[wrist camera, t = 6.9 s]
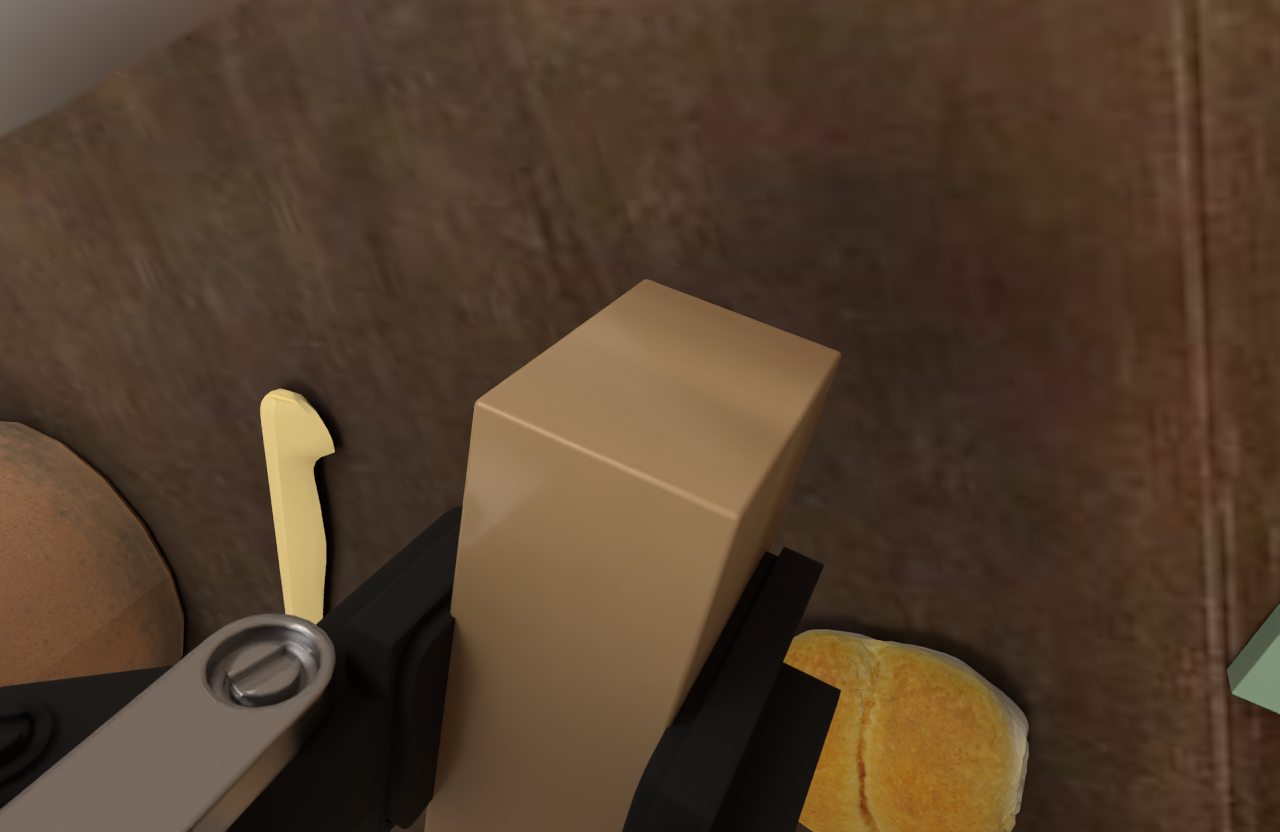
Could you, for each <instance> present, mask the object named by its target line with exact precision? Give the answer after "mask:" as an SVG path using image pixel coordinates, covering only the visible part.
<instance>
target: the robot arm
mask: <svg viewBox="0 0 1280 832" xmlns="http://www.w3.org/2000/svg"><path fill="white" fill-rule="evenodd" d="M462 509H463V507H461V506H459V507H454V508H452V509H450V510H449V511H447V512H446V513H444V514H443V515H442V516H441V517H440V518H439V519H437V520H436V521H435V522H434V523H433V524H432V525H431V526H429V527H428V528H427V529H426V530H425V531H424V532H422V533H421V534H420V535H419V536H418V537H417V538H415V539H414V540H413V541H412V542H411V543H410V544H408V545H407V546H406V547H405V548H404V549H403V550H402V551H400V552H399V553H398V554H397V555H396V556H395V557H393V558H392V559H391V560H390V561H389V562H388V563H386V564H385V565H384V566H383V567H382V568H381V569H379V570H378V571H377V572H376V573H375V574H374V575H373V576H371V577H370V578H369V579H368V580H367V581H366V582H364V583H363V584H362V585H361V586H360V587H359V588H357V589H356V590H355V591H354V592H353V593H352V594H350V595H349V596H348V597H347V598H346V599H345V600H344V601H342V602H341V603H340V604H339V605H338V606H337V607H335V608H334V609H333V610H332V611H331V612H330V613H328V614H327V615H326V616H325V617H324V618H323V619H321V620H320V621H319V622H318V623H317V624H316V625H315V624H314V623H313V622H311V621H309V620H306V619H303V618H300V617H297V616H294V615H287V614H274V613H270V614H263V615H255V616H249V617H246V618H244V619H241V620H238V621H235V622H232V623H230V624H228V625H226V626H225V627H223V628H221V629H220V630H218V631H217V632H215V633H214V634H212V635H211V636H209V637H208V638H207V639H206V640H204V641H203V642H202V643H201V644H200V645H198V646H197V647H196V648H195V649H194V650H192V651H191V652H190V653H189V654H188V655H186V656H185V657H184V658H183V659H182V660H180V661H179V662H178V663H177V664H175V665H171V666H163V667H155V668H147V669H139V670H131V671H123V672H115V673H107V674H99V675H91V676H83V677H75V678H67V679H59V680H51V681H43V682H35V683H27V684H19V685H11V686H3V687H0V832H390V831H391V829H392V828H393V827H394V826H395V824H396V825H398V826H400V827H401V828H403V829H407V828H409V827H410V826H411V825H412V824H413V823H414V822H415V821H416V819H417V818H418V817H419V816H420V814H421V813H422V812H423V811H424V809H425V808H426V807H427V805H428V804H429V803H430V802H431V800H432V799H433V793H434V785H435V777H436V769H437V761H438V753H439V745H440V737H441V729H442V721H443V713H444V705H445V697H446V689H447V681H448V673H449V665H450V657H451V649H452V641H453V633H454V625H455V617H453V616H452V615H451V614H450V611H451V602H452V594H453V585H454V577H455V568H456V560H457V551H458V543H459V534H460V526H461V517H462ZM823 566H824V564H822V563H820V562H817V561H815V560H813V559H811V558H808V557H806V556H804V555H802V554H800V553H797V552H795V551H793V550H791V549H788V548H786V547H784V548H783V549H782V551H781V553H780V555H779V557H778V556H776V555H774V554H772V553H769V552H767V551H766V552H765V554H764V556H763V557H762V559H761V561H760V563H759V565H758V567H757V568H756V570H755V572H754V574H753V576H752V578H751V580H750V581H749V583H748V585H747V587H746V589H745V591H744V593H743V594H742V596H741V598H740V600H739V602H738V604H737V605H736V607H735V609H734V611H733V613H732V615H731V617H730V618H729V620H728V622H727V624H726V626H725V628H724V630H723V631H722V633H721V635H720V637H719V639H718V641H717V642H716V644H715V646H714V648H713V650H712V652H711V654H710V655H709V657H708V659H707V661H706V663H705V665H704V667H703V668H702V670H701V672H700V674H699V676H698V678H697V679H696V681H695V683H694V685H693V687H692V689H691V691H690V692H689V694H688V696H687V698H686V700H685V702H684V704H683V705H682V707H681V709H680V711H679V713H678V715H677V716H676V718H675V720H674V722H673V724H672V726H670V727H669V728H668V727H667V728H666V730H665V732H664V734H663V735H662V737H661V739H660V741H659V743H658V745H657V746H656V748H655V750H654V752H653V754H652V756H651V758H650V760H649V762H648V764H647V766H646V768H645V770H644V772H643V774H642V777H641V779H640V781H639V783H638V786H637V788H636V791H635V793H634V796H633V799H632V802H631V805H630V808H629V811H628V814H627V817H626V820H625V823H624V827H623V830H622V832H795V830H796V827H797V824H798V821H799V818H800V815H801V812H802V809H803V806H804V803H805V800H806V797H807V794H808V791H809V788H810V785H811V782H812V779H813V776H814V773H815V770H816V767H817V764H818V761H819V758H820V755H821V752H822V749H823V746H824V743H825V740H826V737H827V734H828V731H829V728H830V725H831V722H832V719H833V716H834V713H835V710H836V707H837V704H838V701H839V697H840V693H841V690H840V689H838V688H836V687H834V686H832V685H830V684H828V683H825V682H823V681H821V680H819V679H817V678H815V677H813V676H811V675H809V674H807V673H805V672H803V671H801V670H799V669H796V668H794V667H792V666H790V665H788V664H786V663H784V662H783V661H784V659H785V657H786V654H787V652H788V649H789V647H790V645H791V642H792V640H793V638H794V635H795V633H796V631H797V628H798V626H799V623H800V621H801V619H802V616H803V614H804V612H805V609H806V607H807V604H808V602H809V600H810V597H811V595H812V593H813V590H814V588H815V586H816V583H817V581H818V578H819V576H820V574H821V571H822V569H823Z"/></svg>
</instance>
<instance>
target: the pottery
mask: <svg viewBox="0 0 1280 832" xmlns="http://www.w3.org/2000/svg"><path fill="white" fill-rule="evenodd" d="M183 636H184V612H183V609H182V605H181V602H180V599H179V595H178V592H177V589H176V585H175V582H174V579H173V575H172V572H171V570H170V568H169V566H168V565H167V563H166V561H165V559H164V558H163V556H162V554H161V552H160V550H159V549H158V547H157V545H156V543H155V541H154V540H153V538H152V536H151V534H150V533H149V531H148V529H147V527H146V525H145V524H144V522H143V521H142V520H141V519H140V518H139V516H138V515H137V514H136V513H135V512H134V510H133V509H132V508H131V507H130V506H129V504H128V503H127V502H126V501H125V500H124V498H123V497H122V496H121V495H120V494H119V492H118V491H117V490H116V489H115V488H114V486H113V485H112V484H111V483H110V482H109V480H108V479H107V478H106V477H104V476H103V475H102V474H101V473H100V472H98V471H97V470H96V469H95V468H93V467H92V466H91V465H90V464H89V463H87V462H86V461H85V460H84V459H83V458H81V457H80V456H79V455H78V454H77V453H75V452H74V451H73V450H72V449H71V448H69V447H68V446H67V445H66V444H64V443H62V442H60V441H57V440H55V439H53V438H51V437H49V436H47V435H45V434H43V433H41V432H39V431H37V430H35V429H33V428H31V427H28V426H26V425H24V424H21V423H18V422H3V421H0V687H3V686H11V685H19V684H27V683H35V682H43V681H51V680H59V679H67V678H75V677H83V676H91V675H99V674H107V673H115V672H123V671H131V670H139V669H147V668H155V667H163V666H171V665H175V664H177V663H178V661H179V660H180V659H181V657H182V656H183Z"/></svg>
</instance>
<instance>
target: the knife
mask: <svg viewBox="0 0 1280 832" xmlns="http://www.w3.org/2000/svg"><path fill="white" fill-rule="evenodd" d="M260 414H261V424H262V431H263V439H264V447H265V455H266V463H267V471H268V479H269V486H270V494H271V502H272V510H273V518H274V526H275V533H276V541H277V549H278V557H279V565H280V573H281V581H282V588H283V596H284V604H285V612H286V614H287V615H294V616H297V617H300V618H303V619H306V620H309V621H311V622H313V623H314V624H315V625H316V624H317V623H318V622H319V621H320V620H321V619H323V599H324V581H325V570H326V539H325V532H324V526H323V520H322V513H321V507H320V502H319V498H318V493H317V489H316V484H315V478H314V465H315V462H316V461H317V460H318V459H319V458H321V457H323V456H326V455H328V454H331V453H334V452H335V451H334V445H333V441H332V438H331V436H330V434H329V432H328V430H327V428H326V426H325V425H324V423H323V421H322V420H321V418H320V417H319V415H318V414H317V412H316V410H315V409H314V407H313V406H312V405H311V404H310V403H309V402H308V401H307V400H306V399H305V398H304V397H303V396H302V395H301V394H298V393H295V392H291V391H288V390H285V389H281V388H280V389H277V390H274V391H271V392H269V393H268V394H267V395H266V396H265V397H264V399H263V400H262V402H261V406H260Z"/></svg>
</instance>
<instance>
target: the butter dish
mask: <svg viewBox="0 0 1280 832" xmlns="http://www.w3.org/2000/svg"><path fill="white" fill-rule="evenodd" d="M1227 675H1228V679H1229V684H1230V688H1231V693H1232V694H1233V695H1236V696H1238V697H1240V698H1243V699H1245V700H1248V701H1250V702H1252V703H1255V704H1257V705H1260V706H1262V707H1264V708H1267V709H1269V710H1271V711H1274V712H1276V713H1279V714H1280V603H1279V605H1278V606H1277V607H1276V608H1275V610H1274V611H1273V612H1272V613H1271V615H1270V616H1269V617H1268V618H1267V620H1266V621H1265V622H1264V624H1263V625H1262V626H1261V627H1260V629H1259V630H1258V631H1257V632H1256V634H1255V635H1254V636H1253V637H1252V639H1251V640H1250V641H1249V642H1248V644H1247V645H1246V646H1245V647H1244V649H1243V650H1242V651H1241V652H1240V654H1239V655H1238V656H1237V657H1236V659H1235V660H1234V661H1233V662H1232V664H1231V665H1230V666H1229V667H1228V669H1227Z"/></svg>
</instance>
